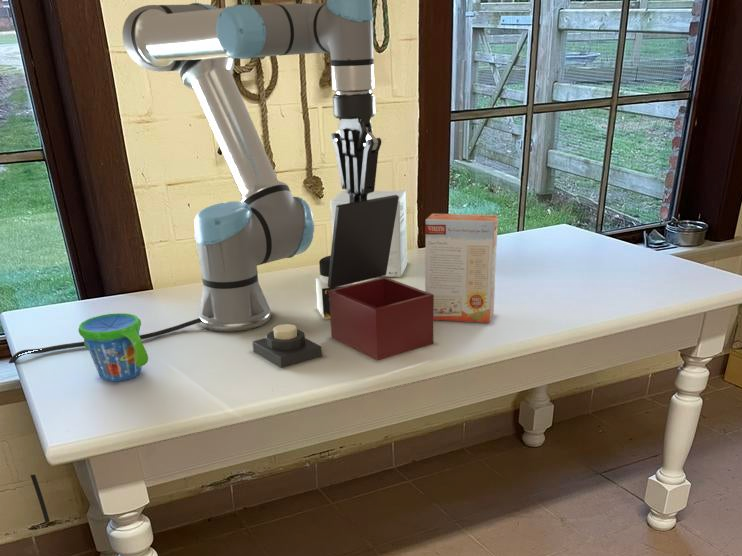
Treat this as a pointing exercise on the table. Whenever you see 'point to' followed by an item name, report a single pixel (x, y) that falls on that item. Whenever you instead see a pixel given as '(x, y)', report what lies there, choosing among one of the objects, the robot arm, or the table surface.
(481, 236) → the cracker box
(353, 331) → the dark red box
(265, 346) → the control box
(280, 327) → the button
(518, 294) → the table surface
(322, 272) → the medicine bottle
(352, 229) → the dark grey lid
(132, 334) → the snack cup
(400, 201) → the supplement box
